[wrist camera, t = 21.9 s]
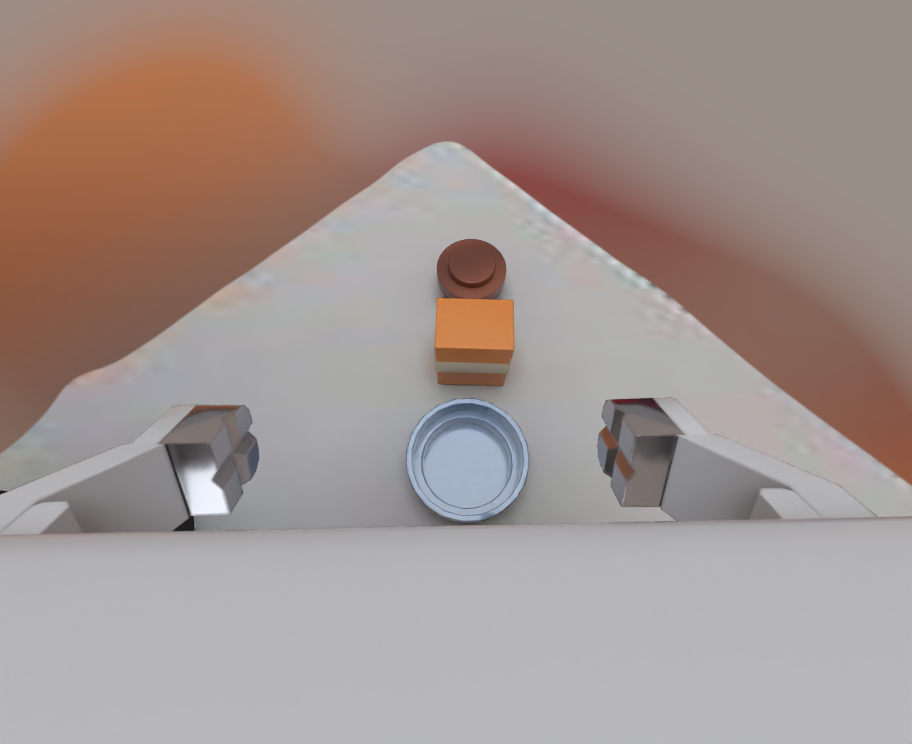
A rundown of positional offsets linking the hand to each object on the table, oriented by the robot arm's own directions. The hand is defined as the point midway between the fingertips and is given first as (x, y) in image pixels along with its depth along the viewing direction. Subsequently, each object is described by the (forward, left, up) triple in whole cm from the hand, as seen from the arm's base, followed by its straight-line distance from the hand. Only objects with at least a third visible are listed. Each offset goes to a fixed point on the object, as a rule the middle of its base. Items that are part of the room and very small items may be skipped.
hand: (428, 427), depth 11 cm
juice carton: (+8, -9, -27) cm, 30 cm away
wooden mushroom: (+14, -14, -27) cm, 33 cm away
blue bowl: (+1, -3, -27) cm, 27 cm away
